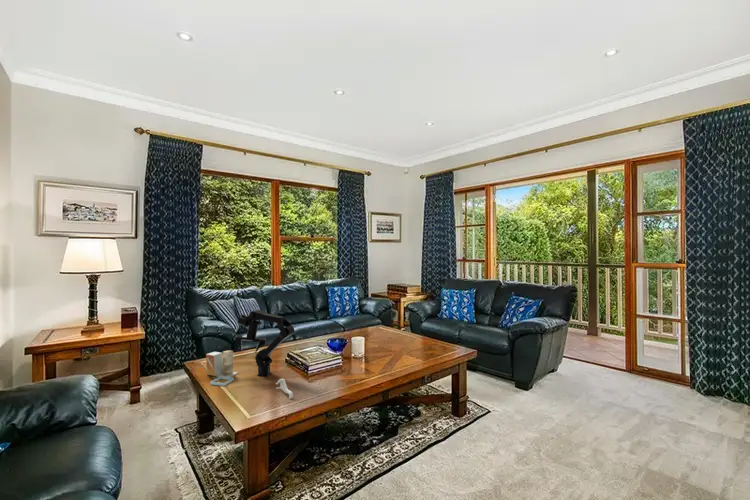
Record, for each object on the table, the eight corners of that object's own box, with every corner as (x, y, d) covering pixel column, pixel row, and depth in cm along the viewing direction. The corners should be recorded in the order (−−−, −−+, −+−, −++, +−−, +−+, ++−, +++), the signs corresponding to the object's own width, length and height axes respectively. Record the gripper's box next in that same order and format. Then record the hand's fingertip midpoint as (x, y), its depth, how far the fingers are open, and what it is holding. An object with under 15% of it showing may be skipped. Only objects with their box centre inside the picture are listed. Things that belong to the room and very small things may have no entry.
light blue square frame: (234, 380, 215) (234, 377, 215) (224, 386, 206) (224, 383, 206) (220, 378, 217) (220, 376, 217) (210, 384, 207) (210, 382, 207)
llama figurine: (277, 401, 201) (290, 399, 188) (274, 380, 204) (287, 377, 191) (280, 400, 202) (293, 398, 189) (277, 379, 205) (290, 376, 192)
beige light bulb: (234, 374, 223) (234, 351, 223) (225, 376, 219) (225, 354, 218) (229, 371, 227) (230, 349, 227) (220, 374, 223) (220, 352, 222)
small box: (206, 374, 223) (205, 354, 223) (215, 371, 228) (214, 351, 228) (214, 376, 219) (213, 355, 219) (224, 373, 224) (222, 352, 224)
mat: (238, 373, 226) (238, 372, 226) (229, 378, 218) (229, 377, 218) (225, 371, 228) (225, 371, 228) (216, 377, 219) (216, 376, 219)
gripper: (267, 326, 238) (263, 348, 239) (238, 322, 232) (234, 345, 234) (267, 332, 227) (262, 355, 229) (237, 329, 222) (232, 352, 223)
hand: (248, 352), depth 229 cm, fingers open, 9 cm apart
